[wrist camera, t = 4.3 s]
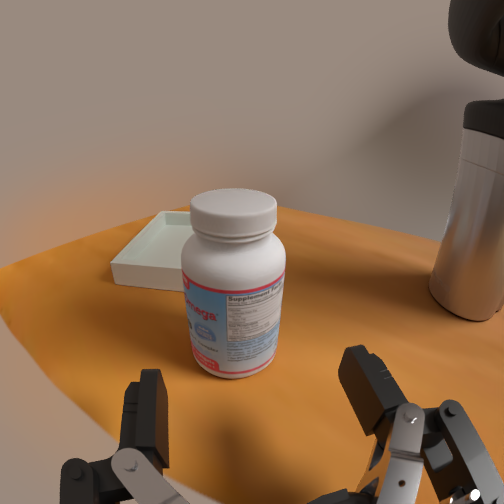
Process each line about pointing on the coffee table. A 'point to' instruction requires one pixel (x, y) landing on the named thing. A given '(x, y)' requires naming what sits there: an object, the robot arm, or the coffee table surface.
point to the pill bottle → (233, 281)
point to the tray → (155, 254)
